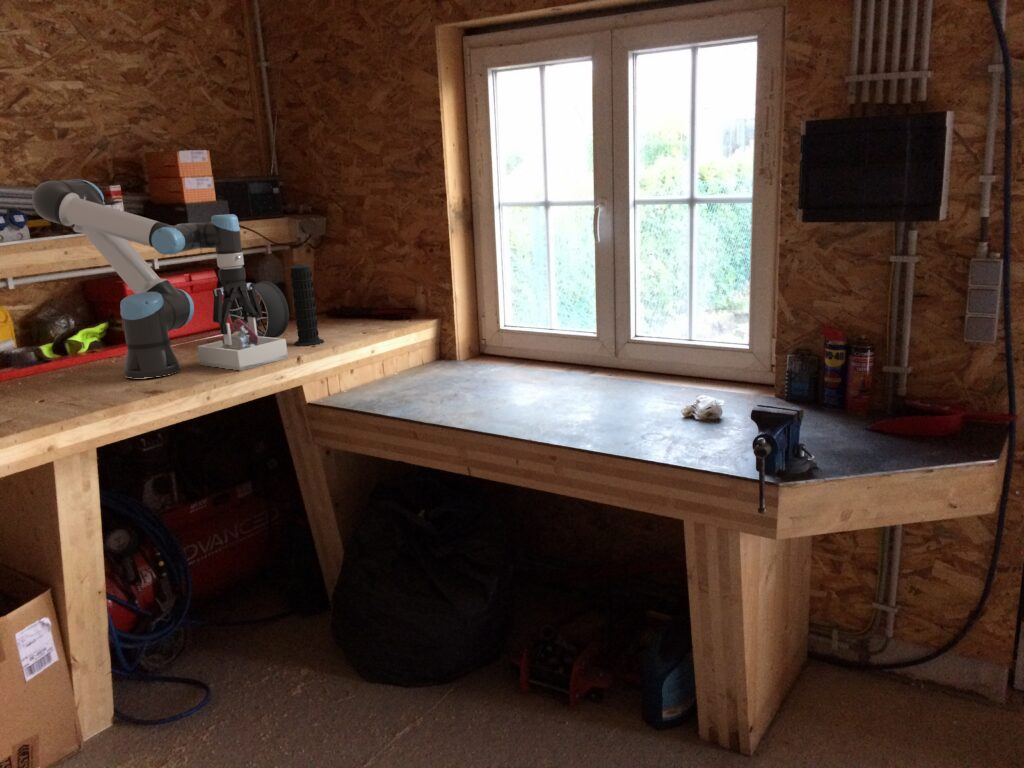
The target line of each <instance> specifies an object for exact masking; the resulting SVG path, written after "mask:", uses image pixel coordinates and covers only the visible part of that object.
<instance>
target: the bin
mask: <svg viewBox="0 0 1024 768" xmlns="http://www.w3.org/2000/svg"><path fill="white" fill-rule="evenodd" d="M246 337H247V341H249V337H250V336H249V335H246ZM258 343H259V345H257V346H253V347H249V348H245V349H241V350H233V349H224V348H220V347H221V346H223V342H222V340H218V341H214V342H210V343H209V342H208V343H204V344H201V345H197V353H198V360H199V361H198V362H199V366H200V365H205V366H204V367H207V366H211V367H210V368H214V367H219V368H218V369H221V368H225V369H224V370H228V369H233V370H232V371H235V370H239V371H238V372H242V371H241V370H243V371H246V369H247V370H250V369H254V368H257V367H260V365H261V366H265V365H269V364H272V363H274V362H278V361H282V360H287V359H289V355H288V347H287V339H286V338H280V337H279V338H278V337H275V338H271V337H261V336H258Z"/></svg>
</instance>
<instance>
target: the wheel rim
mask: <svg viewBox="0 0 1024 768" xmlns="http://www.w3.org/2000/svg"><path fill="white" fill-rule="evenodd" d="M254 284H255V292H256V295H257V297H260V298H259V299H260V300H259V304H260V307H261V310H262V313H261V314H266V316H261V314H259V317H257V322H258V327H256V328H257V335H258V336H261V337H271V338H278V337H281V336H282V335H283V334H284V333H285V331H286V330H287V327H288V326H289V320H290V317H289V316H290V314H289V313H290V311H289V305H288V302H287V299H286V297H285V295H284V293H283V292H282V290H281V289H280V288H279V287H278V286H277V285H276V284H275V283H273V282H271V281H267V280H262V281H258V282H256V283H254ZM245 292H246V294H247V295H248V293H247V289H246V290H245ZM248 299H249V296H248ZM249 301H250V299H249ZM262 302H263V306H264V309H265V310H264V309H263V308H262ZM248 317H250V316H249V314H248V312H247V310H246V309H245V307H244V305H243V304H242V302H241V300H240V299H239V298H236V299H234V300H233V302H232V304H231V308H230V312H229V315H228V318H229V320H230V323H231V325H232V324H233V322H234V321H235V320H236V319H240V320H241V321H242V322H243V323H244V324H246V325H247V326H248V327H249V325H248ZM264 320H266V326H265V324H264ZM238 324H239V322H238ZM260 324H261V326H262V329H263V330H264V331H263V330H262V329H261V328H260V327H259V325H260ZM244 328H245V327H244ZM233 329H236V327H233ZM248 332H249V331H248Z"/></svg>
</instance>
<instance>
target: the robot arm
mask: <svg viewBox="0 0 1024 768" xmlns="http://www.w3.org/2000/svg"><path fill="white" fill-rule="evenodd" d="M104 200H105V197H104V194H103V192H102V191H101V189H99V186H96V185H95V183H92V182H91V181H88V180H85V179H79V178H77V179H76V178H70V179H68V180H64V179H63V180H47V181H44V182H42V183H40V184H38V186H37V187H35V189H34V190H33V192H32V196H31V202H32V206H33V209H34V210H35V212H36V213H37V214H38V216H40V217H41V218H43V219H44V220H46V221H49V222H53V223H56V224H59V225H63V226H66V227H70V228H71V229H72V230H73V231H74V232H75V233H81V234H83V235H84V236H85V238H87V239H88V241H89V242H90V243H91V244H92V246H94V248H95V249H96V250H97V251H98V252H99V254H100V255H101V256H102V257H103V258H104V260H105V261H107V263H108V264H109V266H111V268H112V269H113V270H114V271H115V272H116V273H117V275H118V276H119V277H120V278H121V280H123V282H124V283H125V284H126V285H127V286H128V287H129V288H130V289H131V291H132V292H133V293H134V294H131V295H130V294H129V295H127V296H126V297H124V298H122V300H121V301H120V304H119V305H120V306H119V308H120V311H119V312H120V314H119V315H120V316H121V322H122V327H123V333H124V338H125V343H126V345H125V346H126V350H127V352H126V357H125V358H126V359H125V364H124V369H123V371H124V376H127V377H132V378H144V377H156V376H163V375H168V374H172V373H175V372H177V371H179V370H180V371H181V366H180V363H179V360H178V357H176V354H175V352H174V351H173V349H172V347H171V344H170V337H169V332H171V331H174V330H178V329H180V328H183V326H185V325H187V324H188V323H189V322H191V320H192V319H193V316H194V313H195V305H194V300H193V298H192V297H191V296H190V294H189V293H187V292H186V291H185V290H183V289H179V288H175V286H174V285H173V284H172V283H171V282H170V281H169V279H168V278H167V279H166V278H161V277H160V276H158V274H157V273H156V272H155V271H154V270H153V269H152V267H151V266H150V265H149V263H147V262H146V260H145V259H144V258H143V257H142V256H141V254H140V253H139V252H138V251H137V249H135V247H134V246H133V245H132V244H131V243H130V242H133V243H136V244H139V245H143V246H147V247H150V248H154V250H155V251H156V252H157V253H159V254H161V255H177V254H179V253H183V252H188V251H194V250H198V249H199V250H200V249H215V255H216V263H217V267H218V268H219V269H218V276H219V281H220V284H221V285H220V287H219V288H212V293H213V311H212V312H213V313H212V317H213V318H212V322H213V323H217V324H219V328H220V334H221V335H222V336H223V337H224V344H225V345H232V339H231V331H230V326H231V325H230V322H228V318H229V312H230V308H231V304H232V302H233V300H234V299H236V298H239V299H240V300H241V302H242V304H243V305H244V307H245V309H246V310H247V312H248V314H249V316H250V317H248V325H249V328H250V329H251V330H252V331H253V332H254V333H255V334H256V335H257V328H256V327H258V328H259V326H258V322H257V317H259V314H260V315H262V314H263V313H262V310H261V309H262V306H261V307H260V304H259V302H260V300H259V297H258V296H257V292H256V291H255V284H256V283H254V282H247V281H246V278H247V275H246V268H245V267H244V265H245V262H244V261H245V259H244V254H243V245H242V237H241V228H240V225H239V224H240V223H239V219H238V216H237V215H236V214H234V213H231V214H230V213H229V214H217V215H212V216H211V221H210V222H209V221H208V222H185V223H178V224H175V225H170V224H169V223H164V222H160V221H157V220H156V219H155V220H154V219H151V218H148V217H144V216H141V215H137V214H134V213H131V212H128V211H124V210H120V209H117V208H114V207H110V206H107V205H105V204H106V203H105V201H104ZM246 289H247V293H248V295H247V294H246V292H245V290H246ZM248 296H249V299H250V301H249V299H248ZM257 337H258V335H257ZM180 371H179V372H180ZM177 373H178V372H177ZM175 374H176V373H175ZM172 375H173V374H172Z"/></svg>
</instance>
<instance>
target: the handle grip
mask: <svg viewBox="0 0 1024 768" xmlns="http://www.w3.org/2000/svg"><path fill="white" fill-rule="evenodd" d="M289 269H290V278H291V288H292V298H293V301H294V302H293V306H294V311H295V312H294V315H295V320H296V323H295V325H296V327H297V328H296V330H297V337H298V338H297V341H294V343H293V345H294V346H295V345H296V346H295V347H311V346H310V345H313V346H317V345H316V344H318V345H321V344H323V343H322V342H324V343H325V340H324V339H322V338H320V336H319V329H318V328H319V326H318V320H317V318H318V316H317V311H316V308H317V307H316V301H315V299H316V298H315V291H314V282H313V273H312V270H311V269H312V266H311V265H310V264H309V265H308V264H303V263H299V264H296V265H293V266H290V267H289ZM320 343H321V344H320Z"/></svg>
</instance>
